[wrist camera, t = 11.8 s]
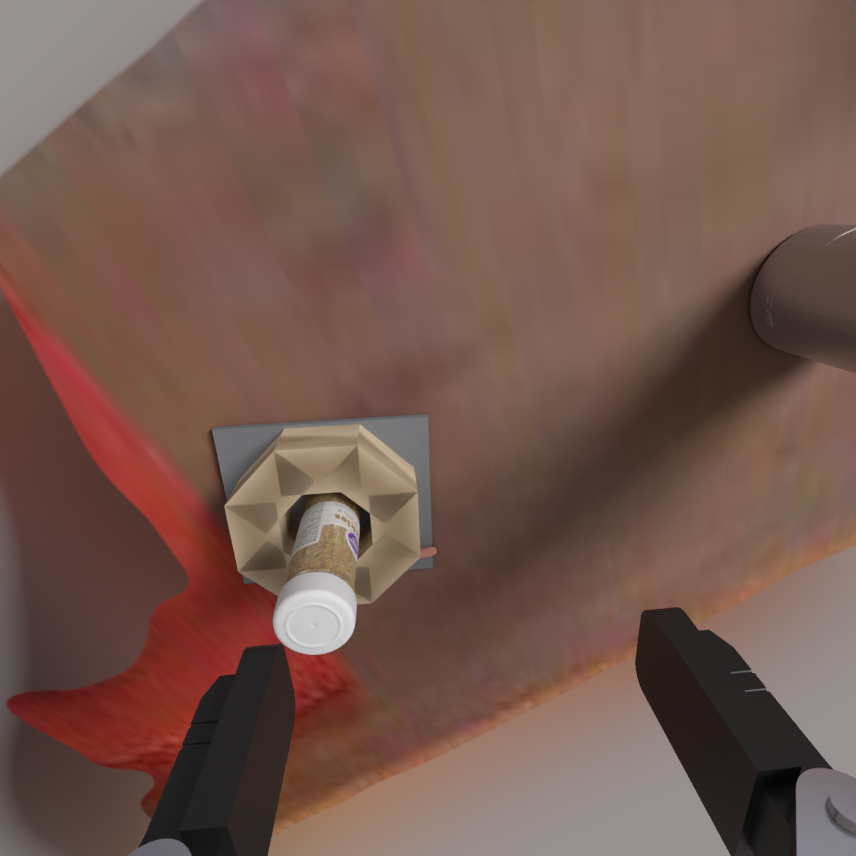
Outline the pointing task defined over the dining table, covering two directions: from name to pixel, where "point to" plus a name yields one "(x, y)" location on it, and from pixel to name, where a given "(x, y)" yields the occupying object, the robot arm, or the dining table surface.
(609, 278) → the dining table surface
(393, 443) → the mat
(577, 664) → the dining table surface
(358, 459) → the octagonal faceted ring
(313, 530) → the sprinkles bottle
